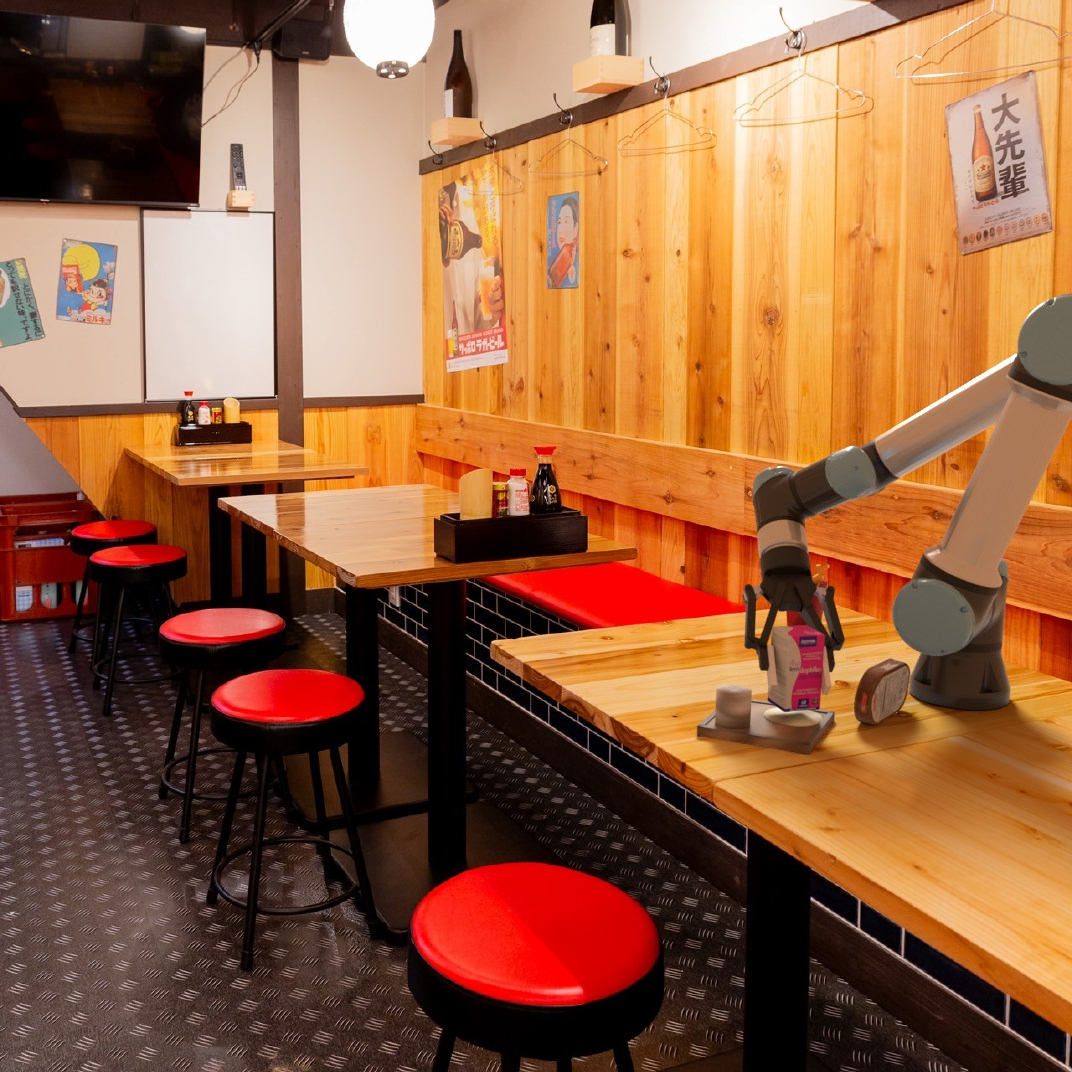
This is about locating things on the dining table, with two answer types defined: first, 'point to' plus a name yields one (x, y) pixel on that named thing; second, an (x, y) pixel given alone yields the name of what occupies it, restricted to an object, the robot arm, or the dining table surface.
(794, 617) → the french fries
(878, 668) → the tin
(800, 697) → the supplement box
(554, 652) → the dining table surface
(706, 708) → the dining table surface
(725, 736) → the board
